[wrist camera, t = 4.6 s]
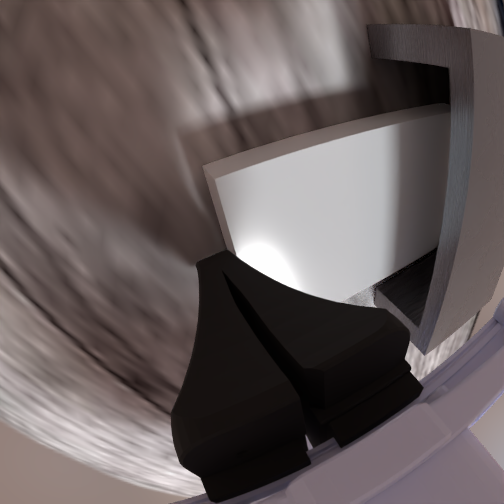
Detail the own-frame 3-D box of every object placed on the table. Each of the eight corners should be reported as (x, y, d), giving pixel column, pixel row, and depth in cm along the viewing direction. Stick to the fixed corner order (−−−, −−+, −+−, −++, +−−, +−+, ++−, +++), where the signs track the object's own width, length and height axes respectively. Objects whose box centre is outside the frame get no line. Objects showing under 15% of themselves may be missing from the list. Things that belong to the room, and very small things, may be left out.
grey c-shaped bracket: (442, 261, 21) (491, 299, 17) (374, 304, 19) (424, 355, 15) (456, 32, 11) (534, 46, 7) (366, 24, 10) (470, 28, 6)
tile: (429, 223, 18) (451, 237, 17) (245, 313, 16) (261, 341, 14) (435, 101, 14) (464, 109, 12) (199, 162, 11) (214, 179, 10)
